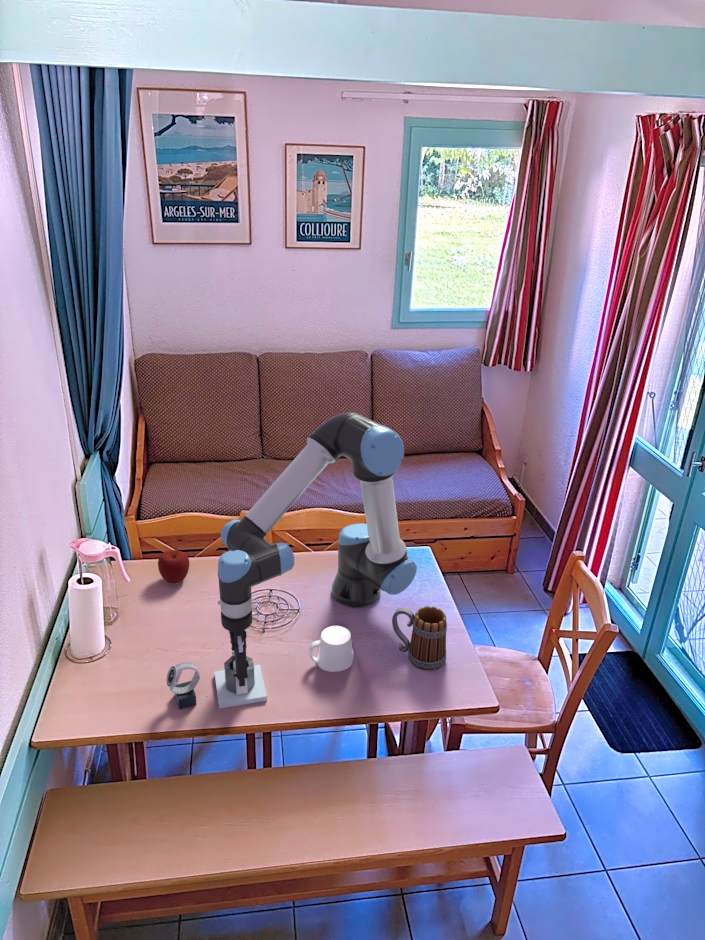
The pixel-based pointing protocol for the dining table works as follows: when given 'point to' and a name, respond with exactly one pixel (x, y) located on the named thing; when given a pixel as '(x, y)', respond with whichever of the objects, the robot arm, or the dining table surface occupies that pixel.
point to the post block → (232, 699)
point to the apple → (173, 566)
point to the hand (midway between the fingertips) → (240, 681)
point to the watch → (183, 684)
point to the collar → (229, 672)
